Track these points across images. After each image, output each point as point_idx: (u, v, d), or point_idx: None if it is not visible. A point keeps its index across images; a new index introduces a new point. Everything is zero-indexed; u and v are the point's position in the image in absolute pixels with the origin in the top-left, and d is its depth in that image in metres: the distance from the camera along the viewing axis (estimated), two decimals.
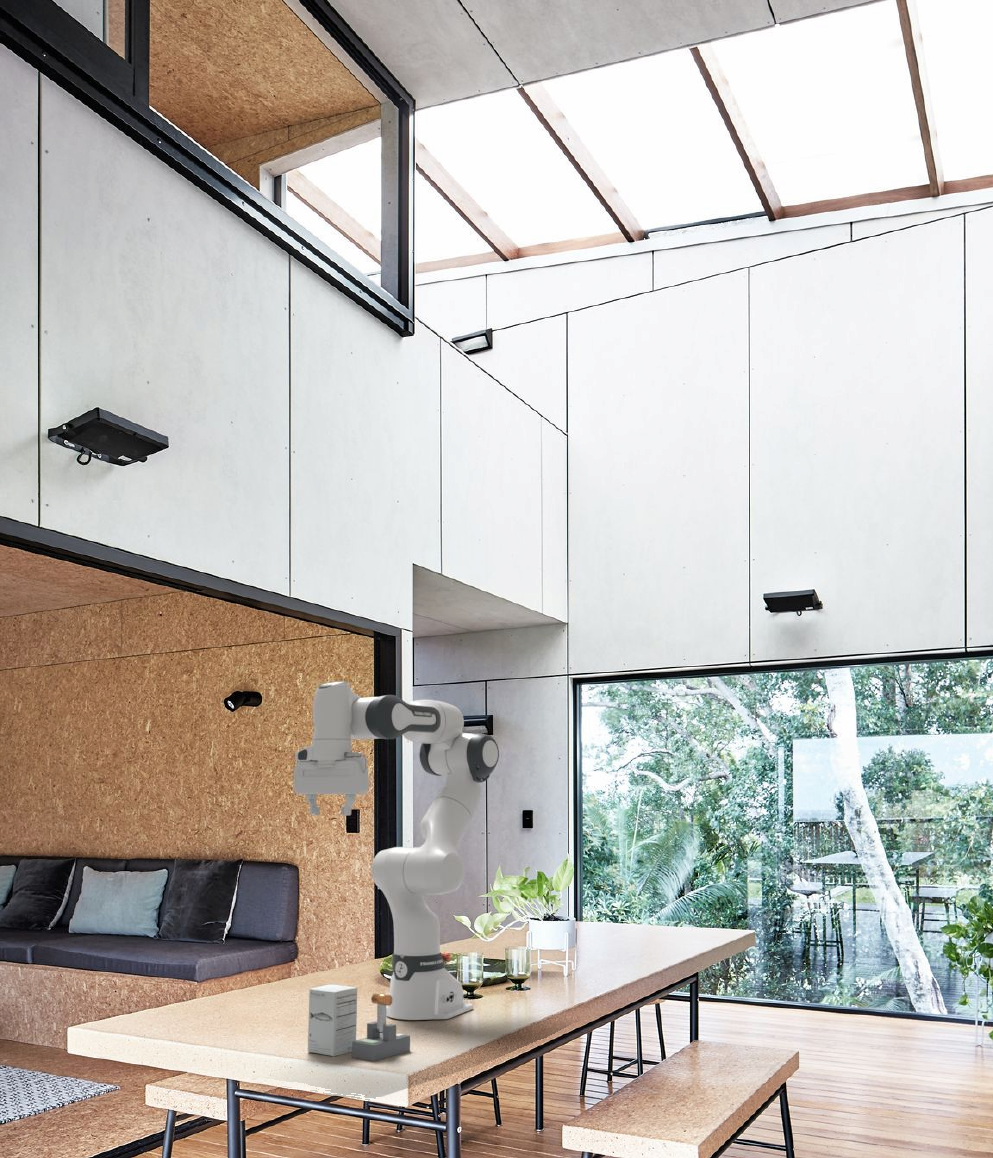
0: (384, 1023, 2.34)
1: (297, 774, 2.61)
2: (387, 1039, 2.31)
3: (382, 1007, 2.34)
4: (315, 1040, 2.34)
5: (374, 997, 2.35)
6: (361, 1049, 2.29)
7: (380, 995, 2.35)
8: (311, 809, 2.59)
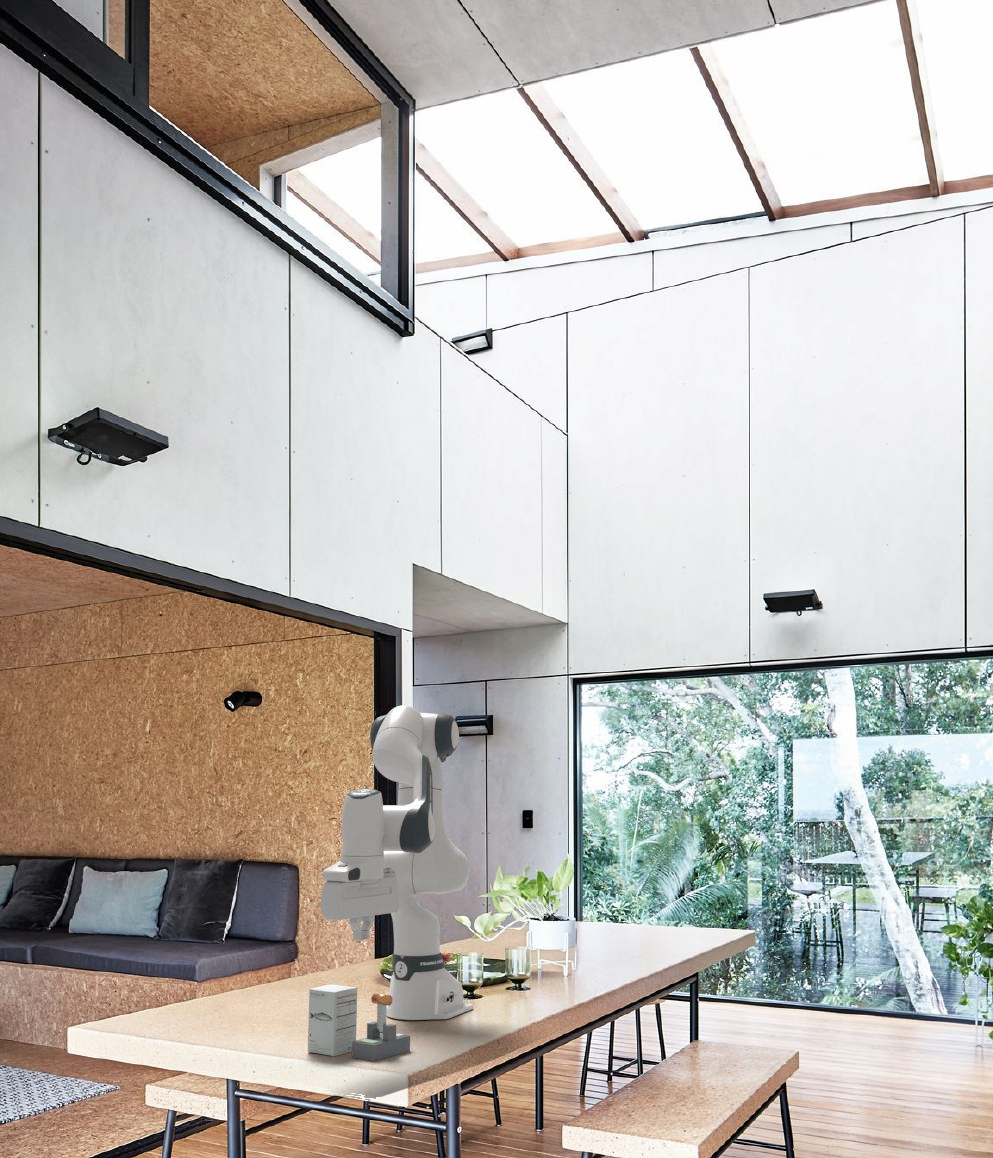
0: (384, 1023, 2.34)
1: (340, 897, 2.26)
2: (387, 1039, 2.31)
3: (382, 1007, 2.34)
4: (315, 1040, 2.34)
5: (374, 997, 2.35)
6: (361, 1049, 2.29)
7: (380, 995, 2.35)
8: (361, 934, 2.31)
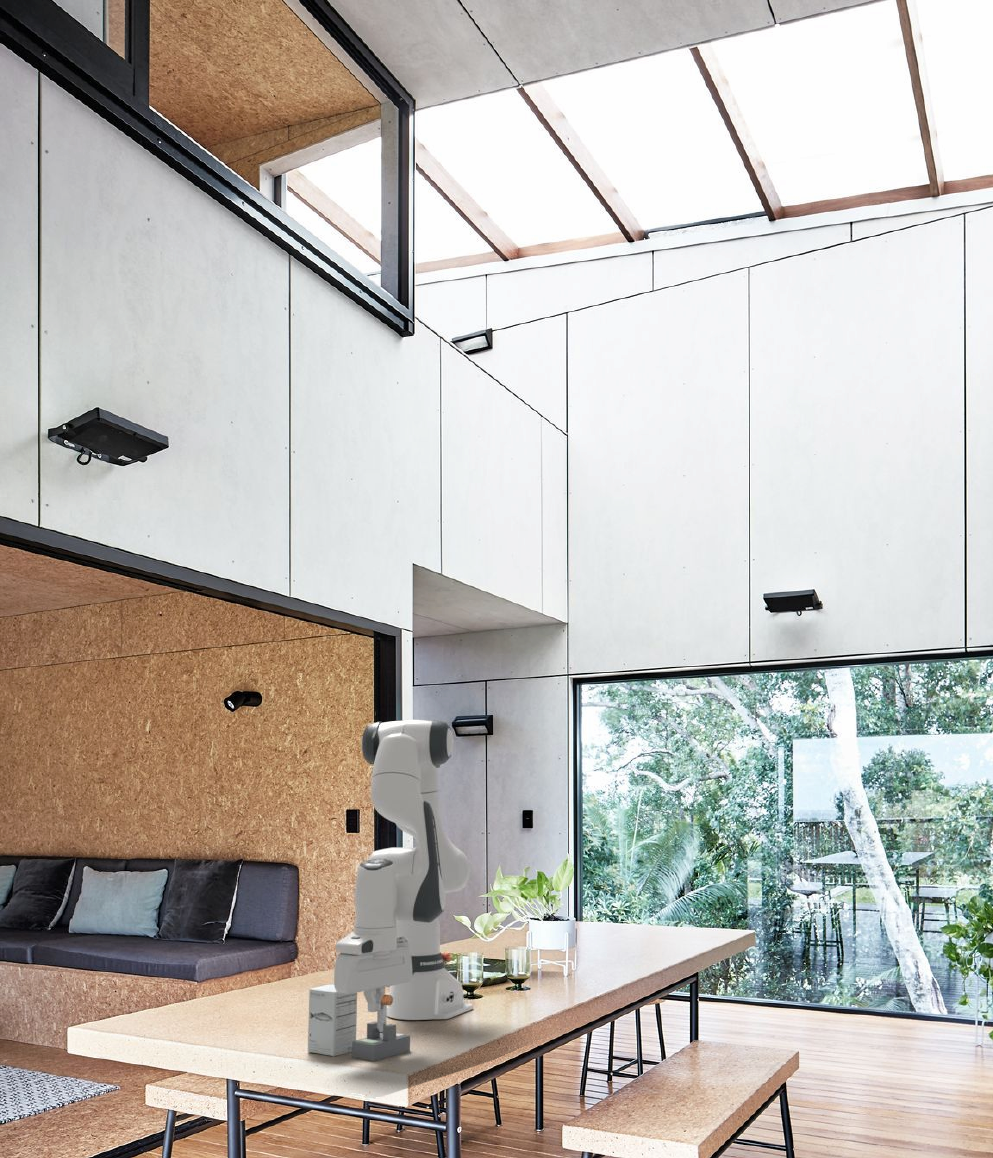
0: (384, 1023, 2.34)
1: (354, 970, 2.27)
2: (387, 1039, 2.31)
3: (382, 1007, 2.34)
4: (315, 1040, 2.34)
5: None
6: (361, 1049, 2.29)
7: None
8: (375, 1005, 2.32)
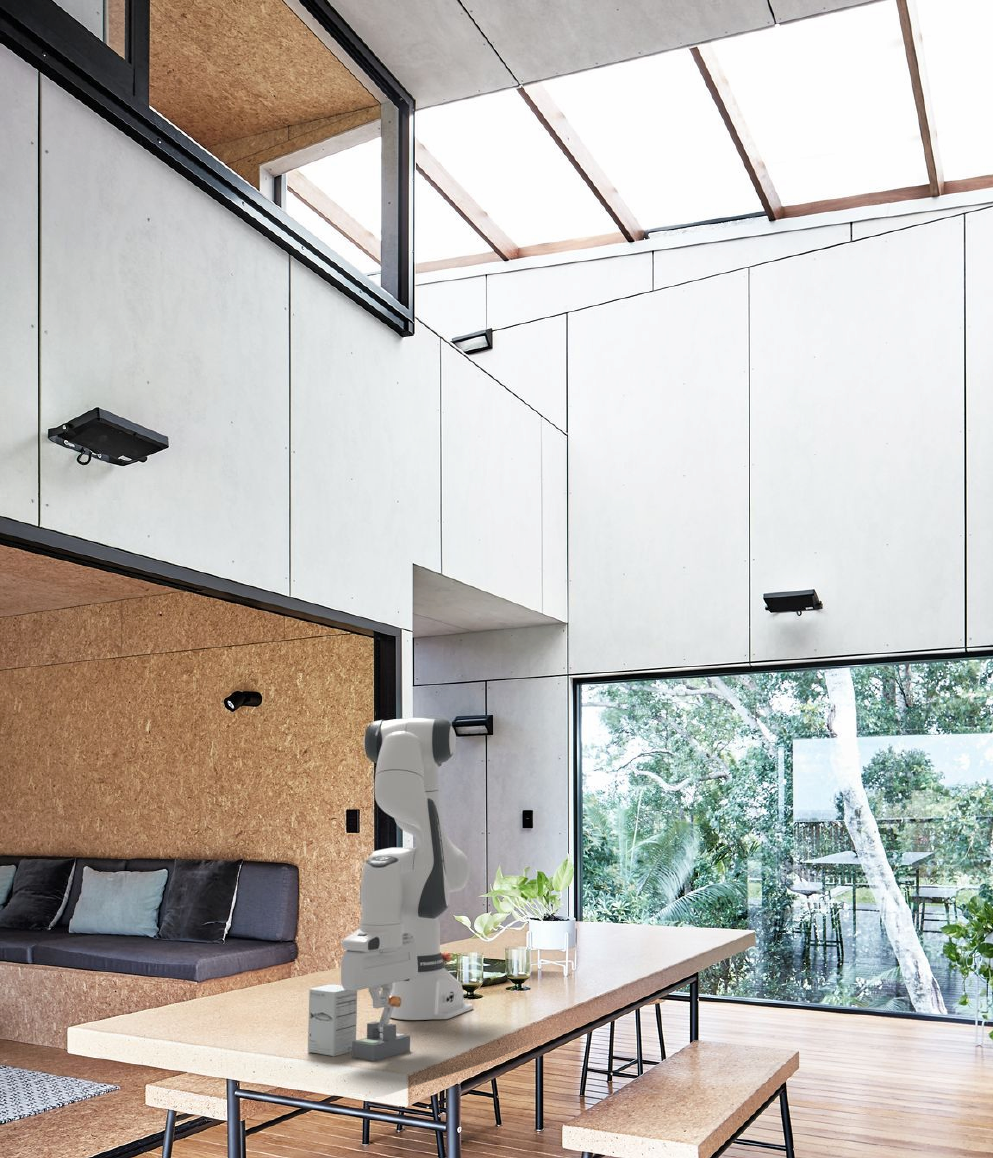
0: (386, 1023, 2.34)
1: (360, 967, 2.28)
2: (387, 1039, 2.31)
3: (389, 1007, 2.36)
4: (315, 1040, 2.34)
5: None
6: (361, 1049, 2.29)
7: (391, 996, 2.37)
8: (380, 1002, 2.34)
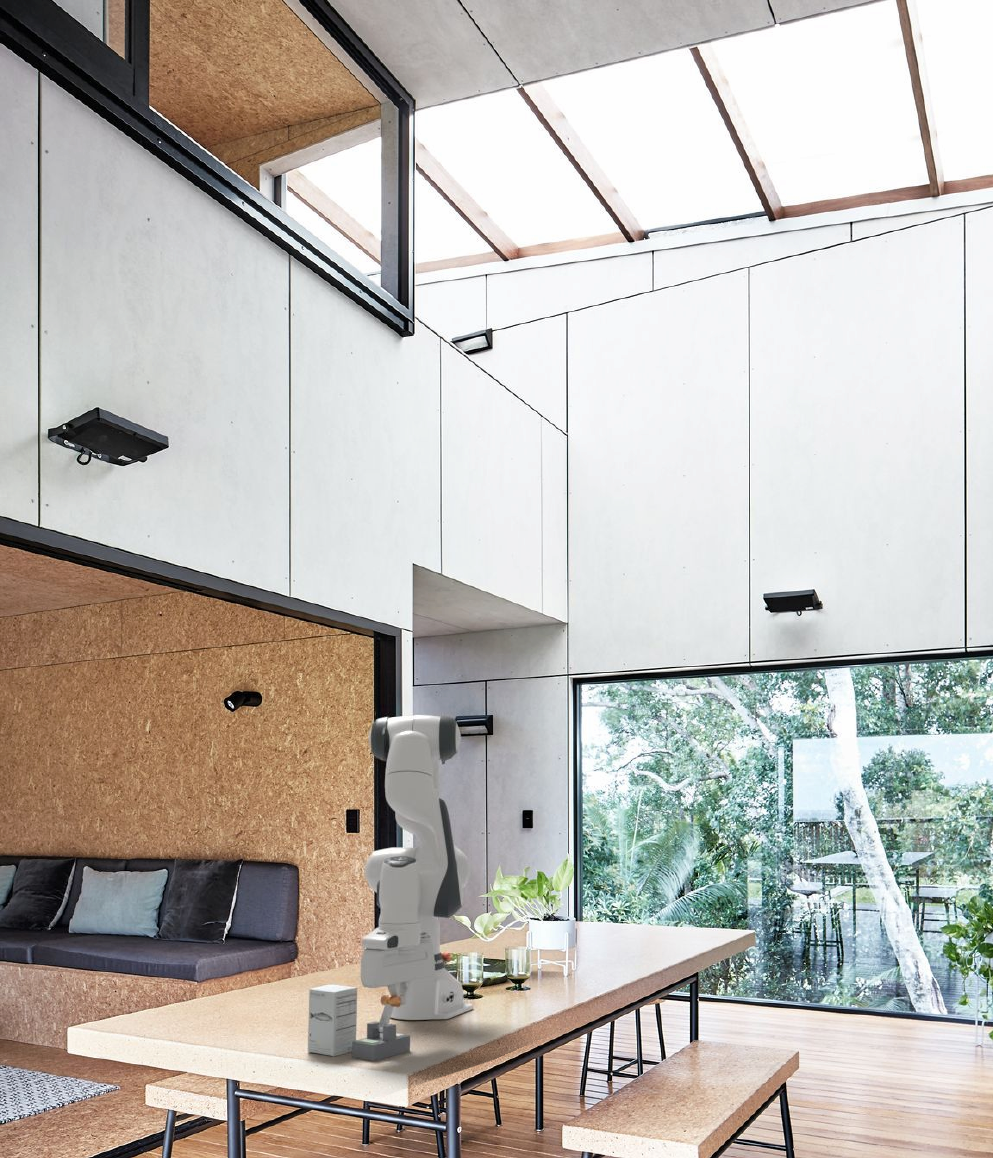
0: (386, 1023, 2.34)
1: (380, 965, 2.33)
2: (387, 1039, 2.31)
3: (389, 1007, 2.36)
4: (315, 1040, 2.34)
5: (384, 996, 2.38)
6: (361, 1049, 2.29)
7: (391, 996, 2.37)
8: None
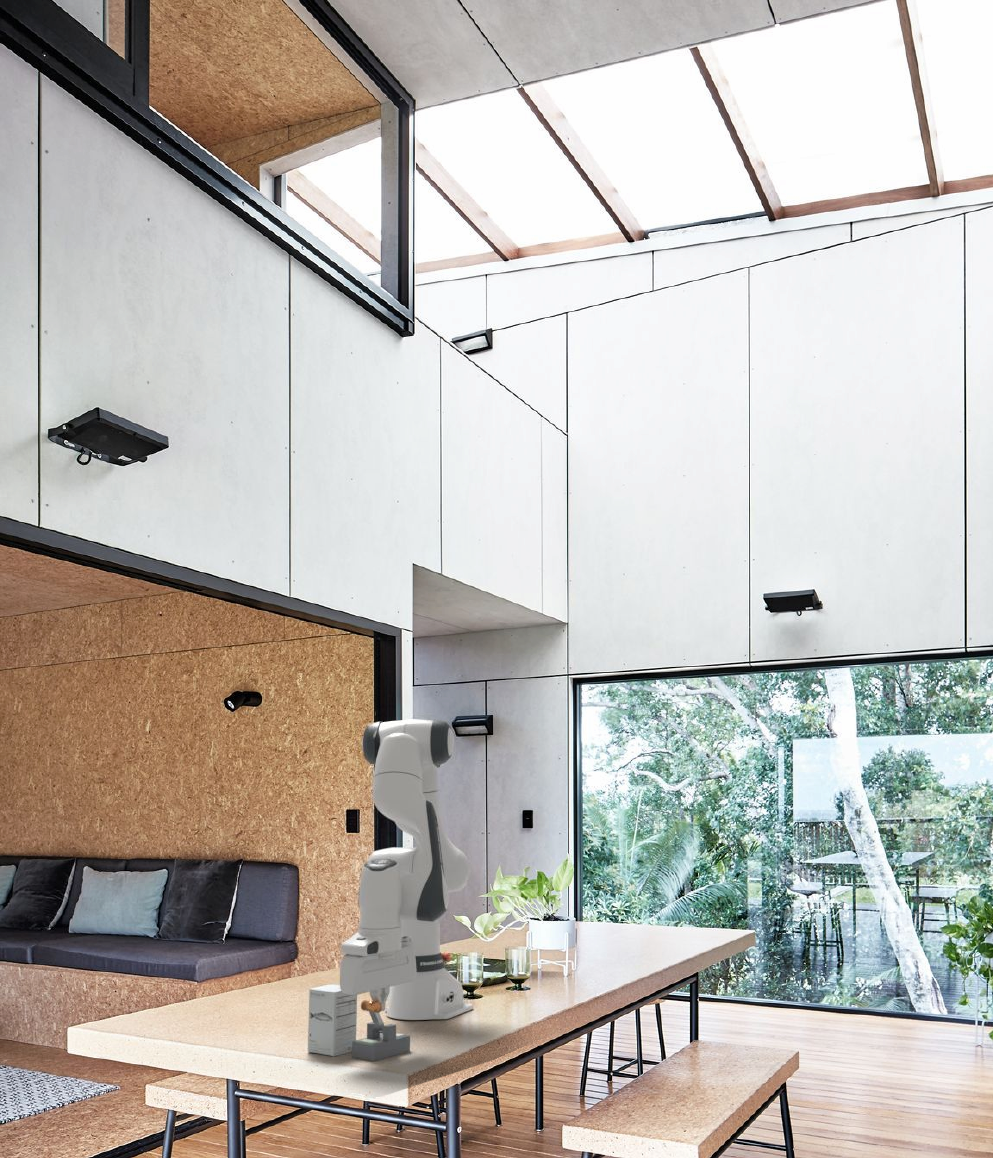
0: (382, 1025, 2.33)
1: (359, 971, 2.27)
2: (387, 1039, 2.31)
3: (375, 1014, 2.32)
4: (315, 1040, 2.34)
5: (363, 1007, 2.32)
6: (361, 1049, 2.29)
7: (368, 1004, 2.32)
8: None
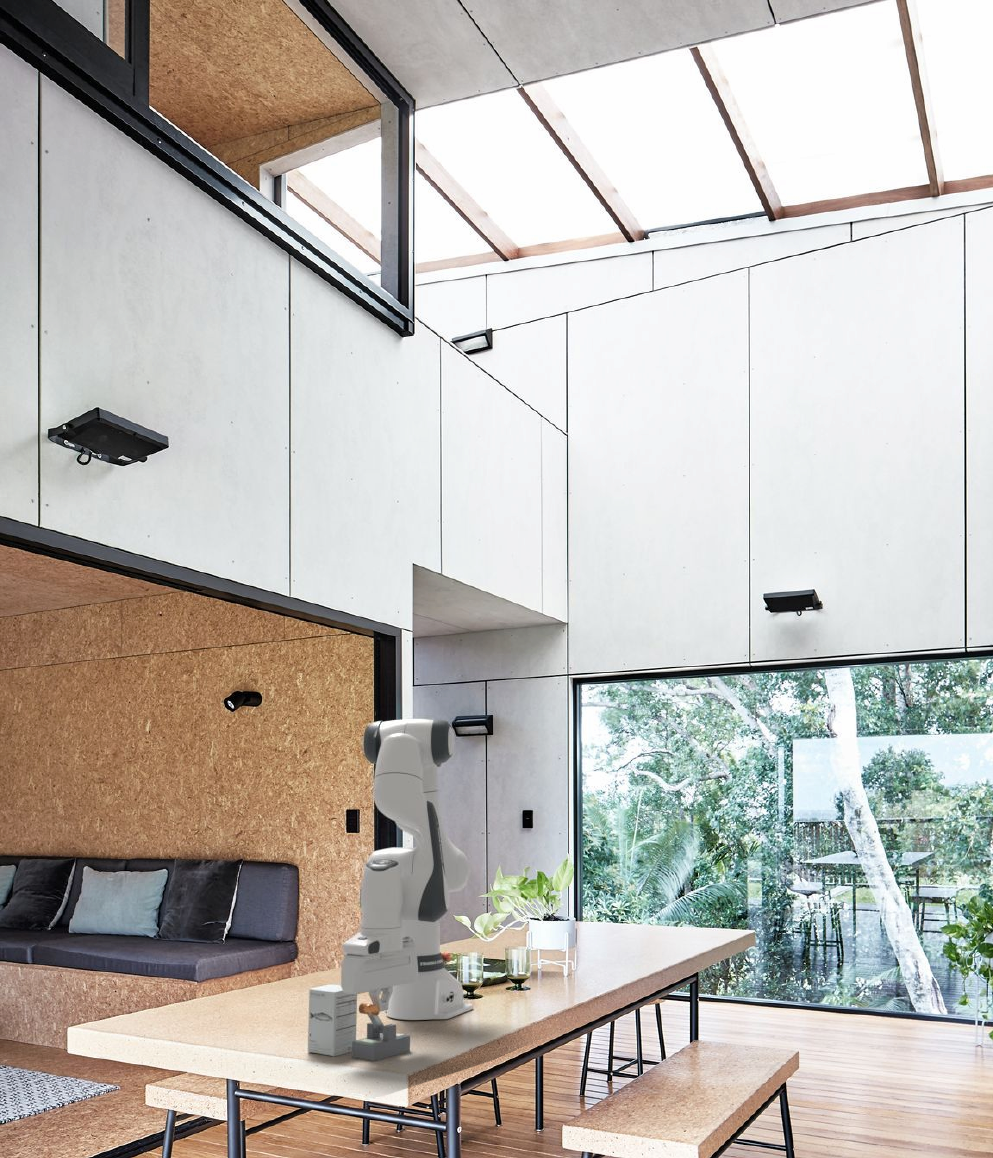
0: (381, 1025, 2.33)
1: (360, 971, 2.28)
2: (387, 1039, 2.31)
3: (373, 1016, 2.32)
4: (315, 1040, 2.34)
5: (361, 1010, 2.32)
6: (361, 1049, 2.29)
7: (366, 1008, 2.31)
8: (380, 1005, 2.34)
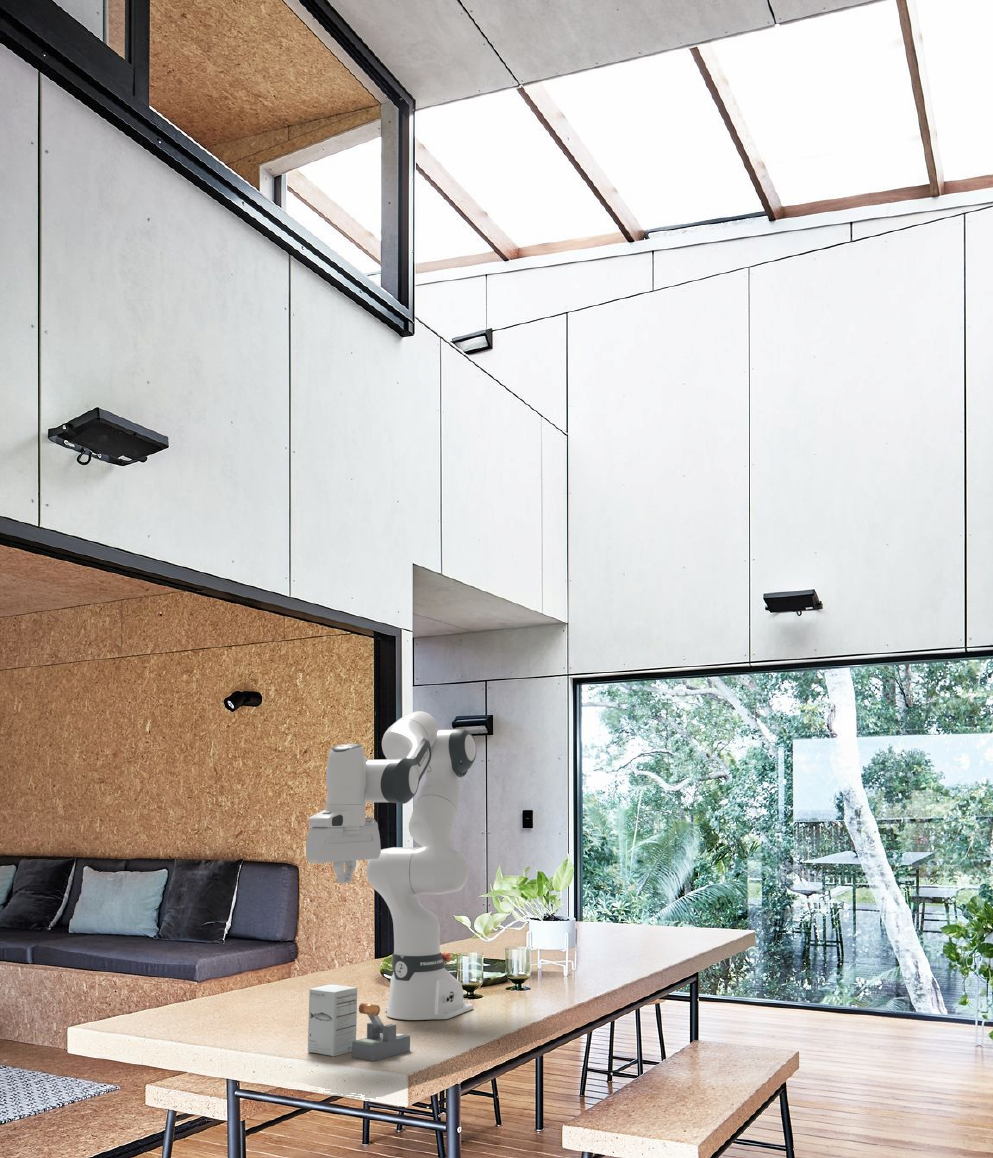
0: (381, 1025, 2.33)
1: (324, 841, 2.43)
2: (387, 1039, 2.31)
3: (373, 1016, 2.32)
4: (315, 1040, 2.34)
5: (361, 1010, 2.32)
6: (361, 1049, 2.29)
7: (366, 1008, 2.31)
8: (344, 877, 2.49)
